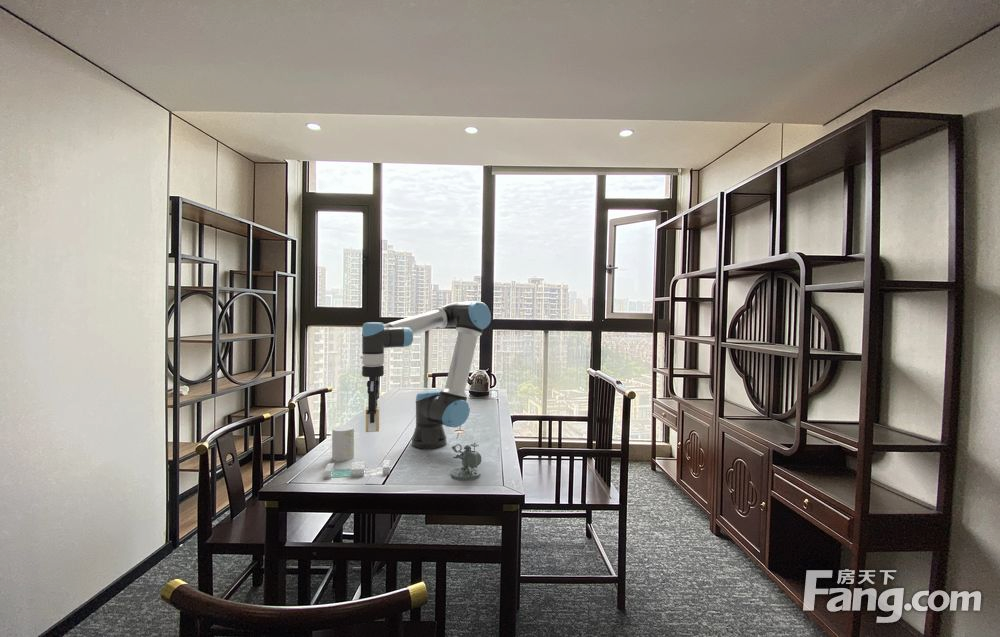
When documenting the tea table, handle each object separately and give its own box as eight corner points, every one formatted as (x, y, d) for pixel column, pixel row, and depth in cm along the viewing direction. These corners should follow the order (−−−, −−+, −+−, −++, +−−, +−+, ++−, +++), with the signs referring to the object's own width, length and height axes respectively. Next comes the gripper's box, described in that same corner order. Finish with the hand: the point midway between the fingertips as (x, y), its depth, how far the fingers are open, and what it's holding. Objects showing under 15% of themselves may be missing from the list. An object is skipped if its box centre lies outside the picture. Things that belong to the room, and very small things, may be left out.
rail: (390, 467, 169) (390, 459, 169) (389, 475, 161) (389, 467, 161) (327, 471, 164) (327, 463, 164) (324, 479, 156) (324, 471, 156)
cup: (347, 462, 173) (347, 431, 173) (328, 461, 175) (328, 430, 175) (357, 455, 181) (357, 426, 181) (339, 454, 183) (339, 424, 183)
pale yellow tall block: (379, 428, 166) (379, 406, 165) (378, 431, 161) (378, 408, 161) (366, 428, 165) (366, 406, 164) (365, 432, 160) (365, 409, 160)
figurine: (462, 467, 169) (462, 436, 169) (486, 473, 164) (486, 440, 163) (444, 476, 160) (445, 443, 160) (469, 483, 155) (470, 448, 154)
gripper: (364, 362, 170) (363, 423, 171) (359, 368, 153) (359, 436, 154) (384, 362, 172) (384, 422, 172) (382, 368, 155) (382, 435, 155)
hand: (372, 429), depth 163 cm, fingers closed on pale yellow tall block, 4 cm apart
